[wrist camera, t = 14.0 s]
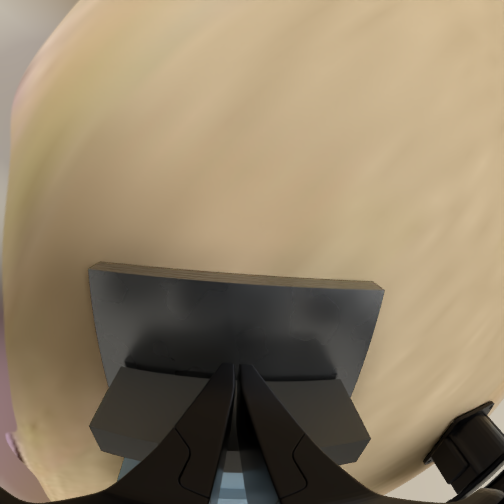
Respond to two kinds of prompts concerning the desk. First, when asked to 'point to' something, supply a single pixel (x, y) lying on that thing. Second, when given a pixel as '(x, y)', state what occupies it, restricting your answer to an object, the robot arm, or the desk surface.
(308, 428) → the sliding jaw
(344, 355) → the vise base
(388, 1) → the desk surface
